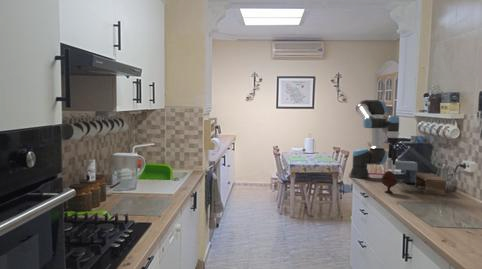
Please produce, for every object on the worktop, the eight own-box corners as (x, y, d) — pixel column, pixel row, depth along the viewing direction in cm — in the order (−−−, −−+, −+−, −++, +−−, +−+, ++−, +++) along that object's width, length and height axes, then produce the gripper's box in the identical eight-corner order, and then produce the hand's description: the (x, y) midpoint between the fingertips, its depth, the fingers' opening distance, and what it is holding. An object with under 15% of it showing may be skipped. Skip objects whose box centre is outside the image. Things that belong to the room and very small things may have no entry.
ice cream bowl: (400, 194, 249) (401, 172, 248) (383, 194, 249) (384, 172, 248) (393, 191, 259) (394, 169, 258) (377, 190, 260) (378, 169, 259)
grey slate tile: (387, 167, 276) (387, 160, 276) (413, 168, 273) (413, 161, 273) (390, 169, 267) (390, 162, 266) (417, 170, 263) (417, 163, 263)
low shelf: (415, 186, 277) (415, 172, 277) (432, 186, 275) (433, 173, 274) (425, 194, 252) (426, 179, 251) (445, 194, 250) (445, 180, 249)
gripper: (402, 138, 258) (400, 170, 259) (394, 136, 280) (393, 166, 281) (390, 138, 259) (389, 170, 261) (384, 136, 281) (383, 165, 283)
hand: (391, 168), depth 271 cm, fingers closed on grey slate tile, 10 cm apart
